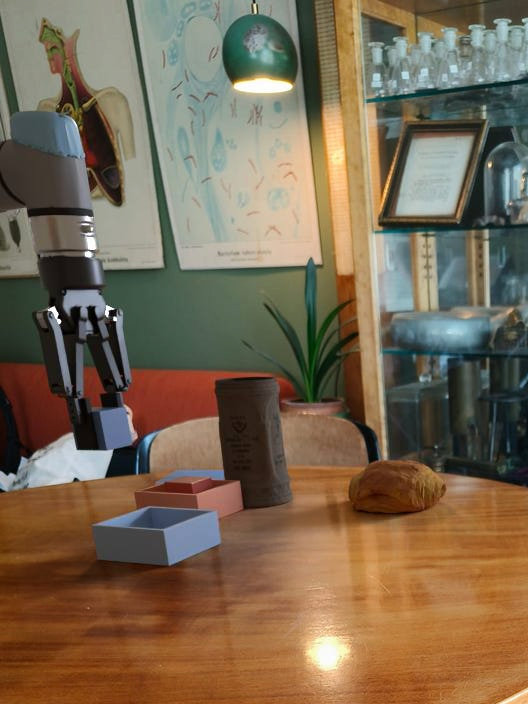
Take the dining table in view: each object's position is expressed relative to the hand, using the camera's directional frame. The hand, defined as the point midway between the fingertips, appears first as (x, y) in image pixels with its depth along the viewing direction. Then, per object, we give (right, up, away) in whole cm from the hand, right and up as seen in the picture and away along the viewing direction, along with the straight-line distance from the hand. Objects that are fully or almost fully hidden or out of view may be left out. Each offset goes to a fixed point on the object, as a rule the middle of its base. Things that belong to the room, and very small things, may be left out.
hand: (103, 445), depth 118 cm
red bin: (+6, -7, +19) cm, 21 cm away
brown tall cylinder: (+14, -2, +30) cm, 33 cm away
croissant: (+37, -5, +23) cm, 43 cm away
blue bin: (+8, -14, 0) cm, 16 cm away
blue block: (0, 0, 0) cm, 0 cm away
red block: (+6, -6, +19) cm, 21 cm away
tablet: (+2, +3, +44) cm, 44 cm away
